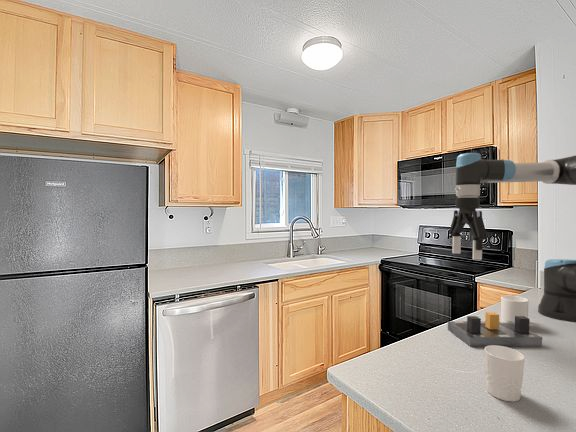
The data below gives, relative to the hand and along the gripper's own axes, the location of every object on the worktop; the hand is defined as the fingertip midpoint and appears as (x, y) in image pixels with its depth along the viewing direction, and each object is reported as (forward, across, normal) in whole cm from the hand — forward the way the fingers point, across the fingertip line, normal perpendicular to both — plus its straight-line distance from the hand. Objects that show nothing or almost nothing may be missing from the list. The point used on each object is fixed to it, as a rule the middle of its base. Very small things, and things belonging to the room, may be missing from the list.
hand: (466, 256), depth 113 cm
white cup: (+27, +39, -12) cm, 49 cm away
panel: (+27, +6, +6) cm, 28 cm away
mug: (+27, -6, +22) cm, 36 cm away
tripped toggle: (+24, +6, +6) cm, 25 cm away
